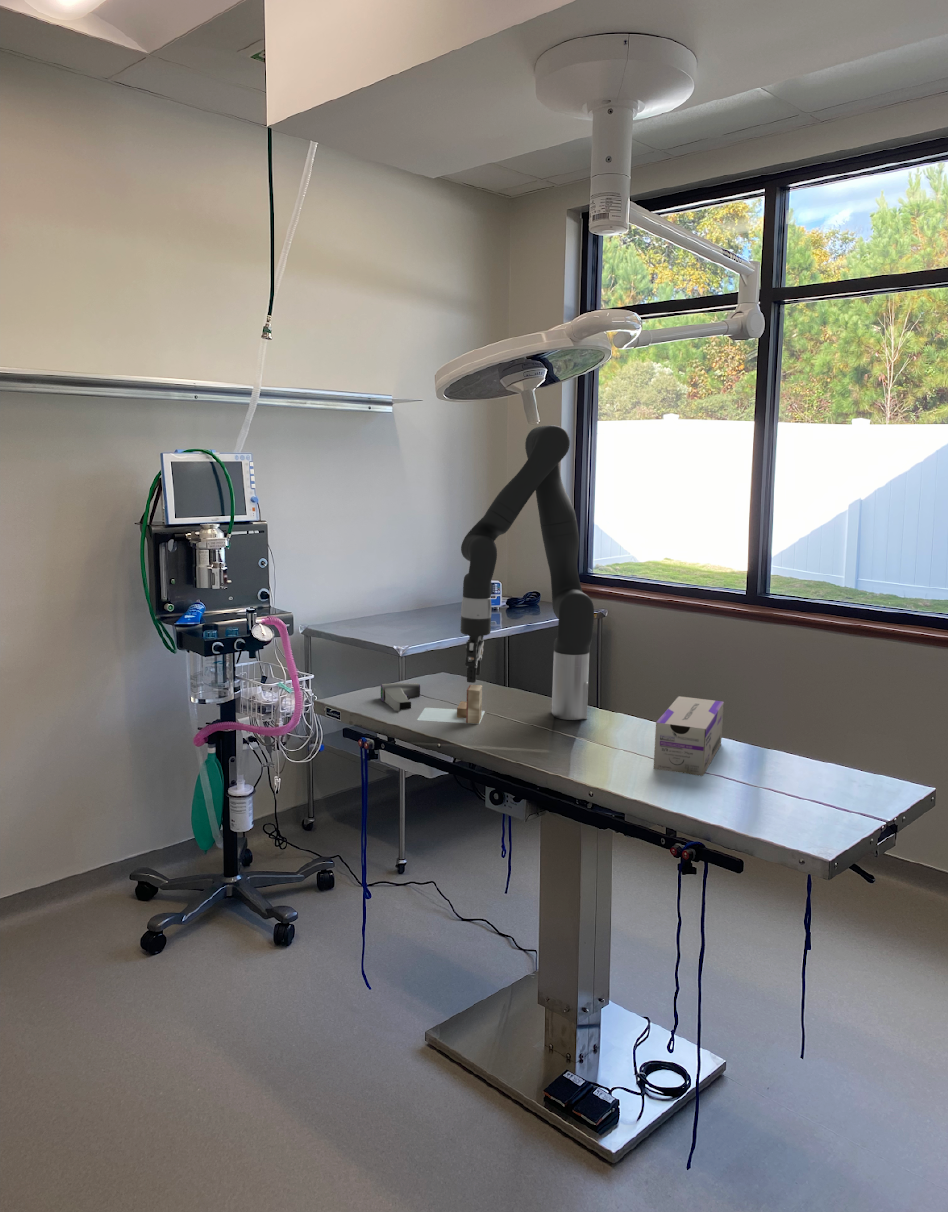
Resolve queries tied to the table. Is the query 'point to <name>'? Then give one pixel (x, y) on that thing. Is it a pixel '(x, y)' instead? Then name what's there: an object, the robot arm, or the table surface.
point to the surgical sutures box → (688, 735)
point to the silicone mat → (442, 715)
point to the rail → (462, 709)
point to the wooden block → (474, 704)
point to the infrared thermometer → (399, 694)
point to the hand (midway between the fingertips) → (473, 678)
